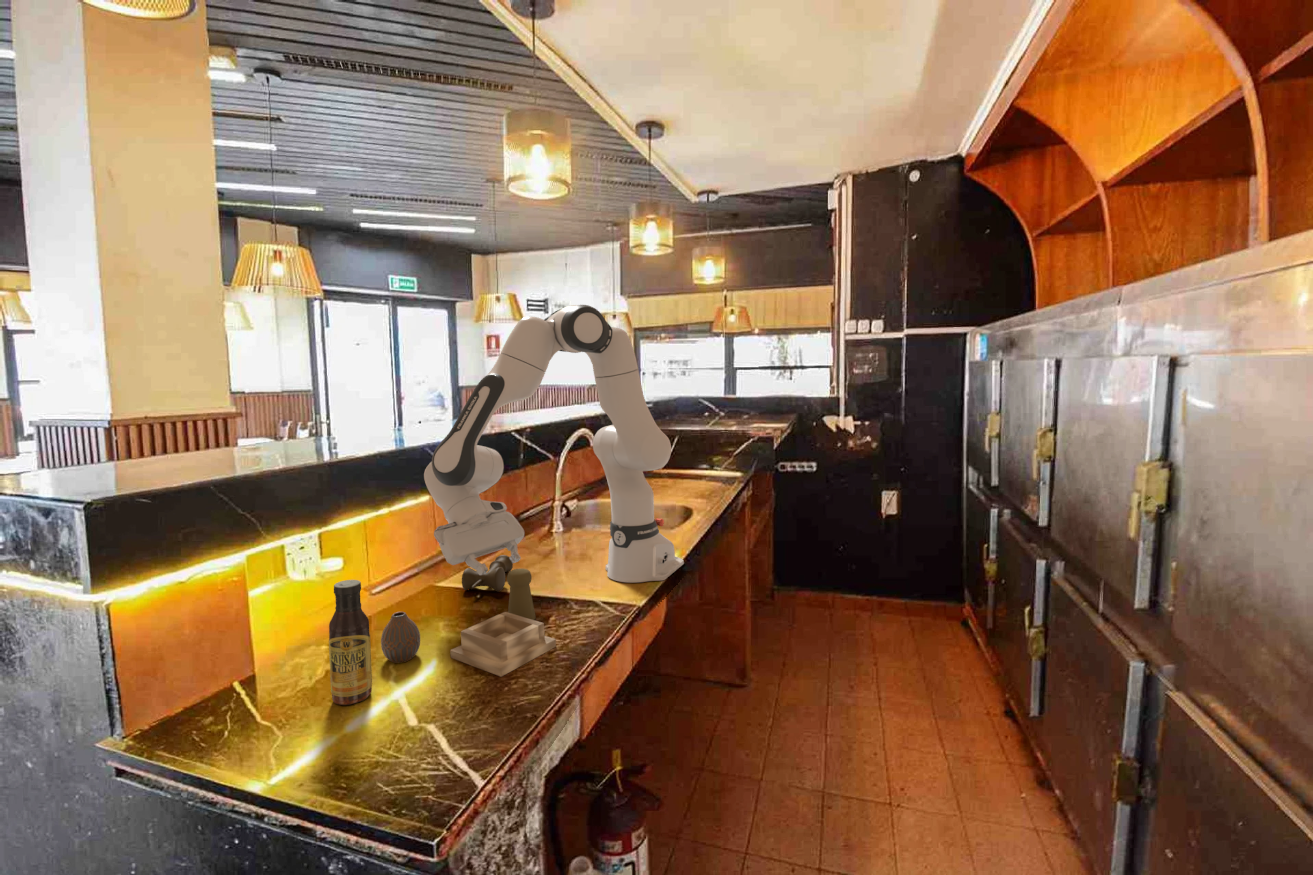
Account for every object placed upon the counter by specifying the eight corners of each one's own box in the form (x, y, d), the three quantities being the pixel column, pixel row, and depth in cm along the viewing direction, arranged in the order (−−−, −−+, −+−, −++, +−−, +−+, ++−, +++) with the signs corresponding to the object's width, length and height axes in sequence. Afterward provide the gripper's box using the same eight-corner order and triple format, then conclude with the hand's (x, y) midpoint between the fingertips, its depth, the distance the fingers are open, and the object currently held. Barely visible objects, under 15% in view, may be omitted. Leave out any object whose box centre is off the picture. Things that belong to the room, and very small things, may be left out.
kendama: (522, 574, 168) (492, 599, 148) (488, 574, 169) (454, 599, 150) (521, 552, 167) (490, 575, 148) (486, 552, 169) (452, 575, 149)
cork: (529, 625, 133) (526, 575, 132) (502, 623, 134) (499, 574, 133) (539, 614, 139) (537, 566, 137) (514, 612, 140) (511, 565, 139)
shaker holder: (506, 630, 130) (505, 607, 130) (556, 646, 122) (554, 621, 122) (450, 657, 119) (449, 632, 118) (500, 676, 111) (499, 649, 110)
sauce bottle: (328, 710, 101) (317, 592, 99) (336, 691, 107) (326, 579, 105) (372, 703, 103) (362, 587, 101) (377, 685, 109) (368, 575, 107)
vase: (429, 654, 121) (426, 610, 120) (398, 669, 115) (394, 624, 114) (405, 647, 124) (402, 604, 123) (374, 661, 118) (370, 617, 117)
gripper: (436, 519, 133) (468, 572, 128) (509, 501, 149) (540, 546, 145) (424, 537, 136) (456, 589, 131) (497, 517, 152) (528, 562, 148)
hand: (501, 566), depth 138 cm, fingers open, 8 cm apart
